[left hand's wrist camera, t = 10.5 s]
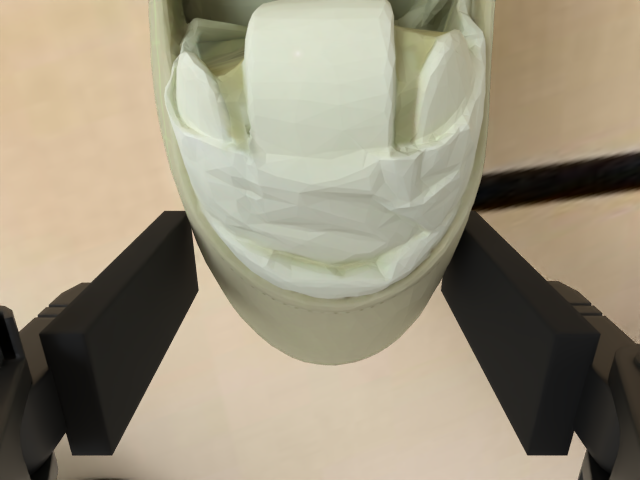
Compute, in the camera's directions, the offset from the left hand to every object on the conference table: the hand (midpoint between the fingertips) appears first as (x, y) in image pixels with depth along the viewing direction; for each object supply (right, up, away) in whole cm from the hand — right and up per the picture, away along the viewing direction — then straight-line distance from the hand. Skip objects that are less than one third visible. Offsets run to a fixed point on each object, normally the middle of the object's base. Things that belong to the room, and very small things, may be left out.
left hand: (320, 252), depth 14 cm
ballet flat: (0, +8, -2) cm, 8 cm away
